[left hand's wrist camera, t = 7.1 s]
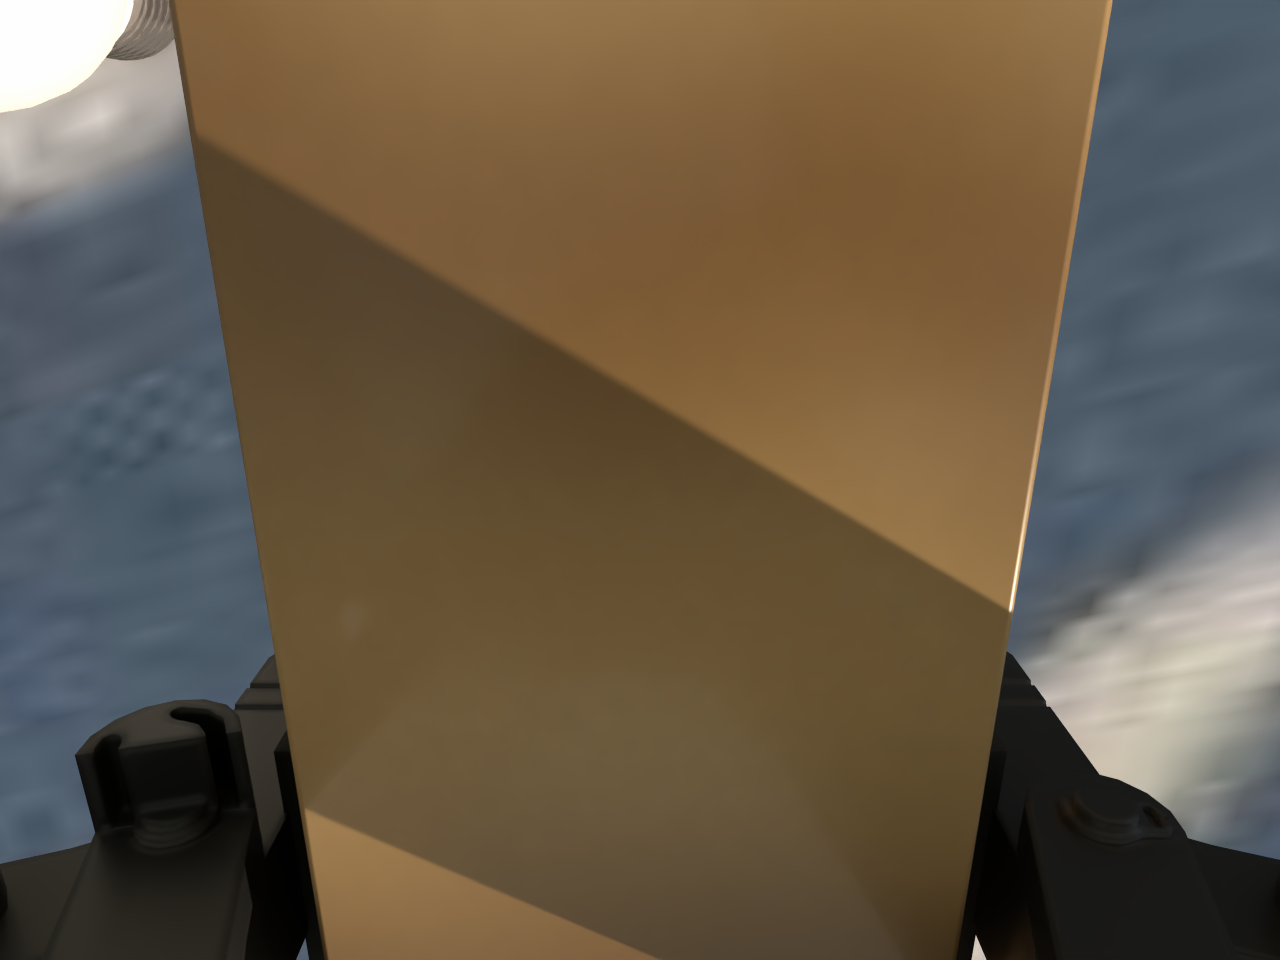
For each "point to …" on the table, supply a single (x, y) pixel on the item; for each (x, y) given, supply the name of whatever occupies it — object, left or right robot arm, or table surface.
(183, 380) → the table surface
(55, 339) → the table surface
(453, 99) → the bar
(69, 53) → the light bulb
